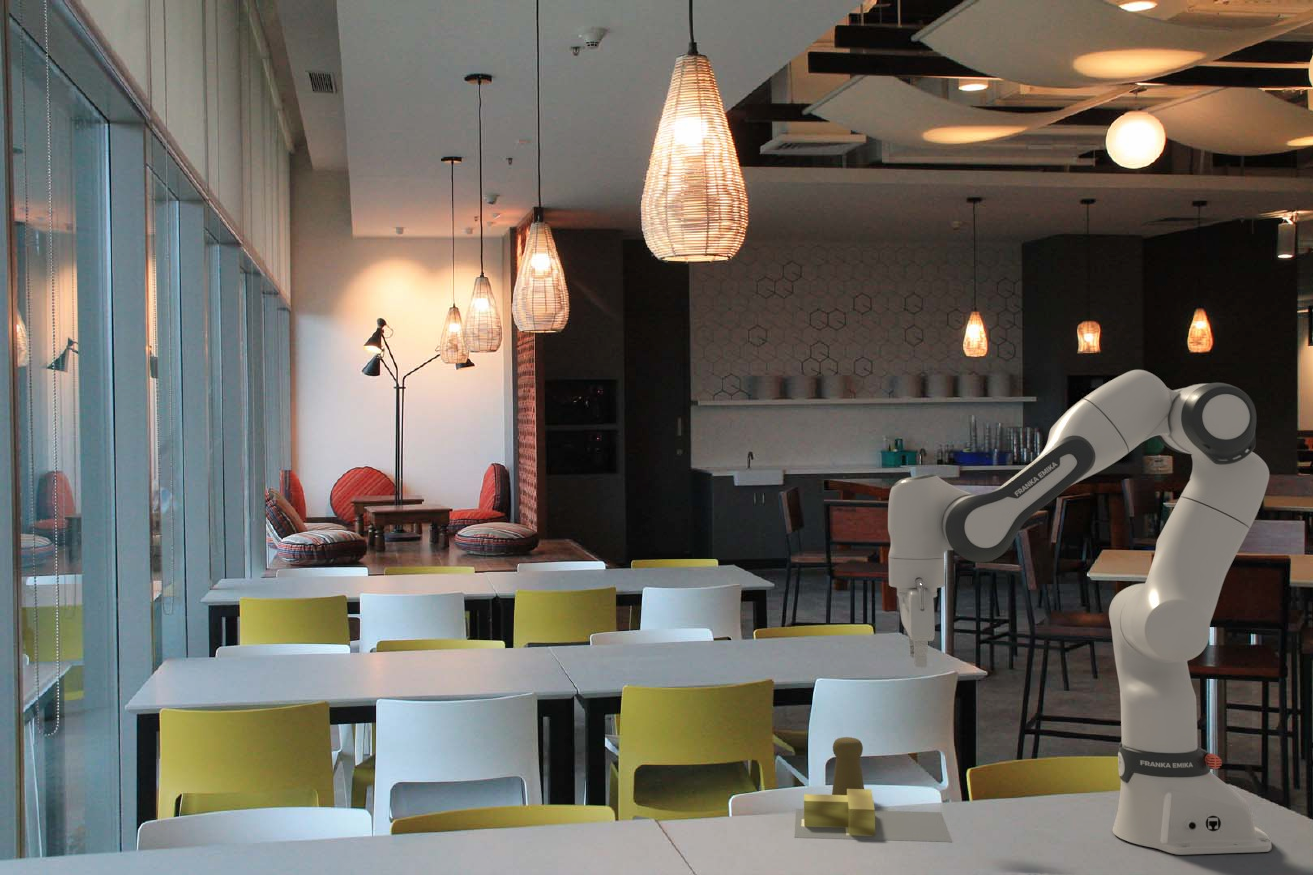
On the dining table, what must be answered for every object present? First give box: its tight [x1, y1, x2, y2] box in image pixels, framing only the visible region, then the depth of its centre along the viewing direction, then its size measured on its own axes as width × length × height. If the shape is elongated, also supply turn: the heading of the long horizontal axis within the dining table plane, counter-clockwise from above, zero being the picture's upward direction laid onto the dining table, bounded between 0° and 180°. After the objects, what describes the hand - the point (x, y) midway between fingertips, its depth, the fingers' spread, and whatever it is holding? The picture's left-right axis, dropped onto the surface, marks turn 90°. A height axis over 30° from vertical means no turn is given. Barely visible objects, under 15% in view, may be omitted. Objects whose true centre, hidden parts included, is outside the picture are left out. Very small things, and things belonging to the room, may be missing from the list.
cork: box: [831, 736, 865, 795], centre depth 210 cm, size 6×6×11 cm
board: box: [794, 808, 953, 843], centre depth 193 cm, size 24×16×1 cm, turn 83°
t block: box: [803, 788, 876, 835], centre depth 194 cm, size 11×12×4 cm
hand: (918, 661), depth 193 cm, fingers open, 8 cm apart
